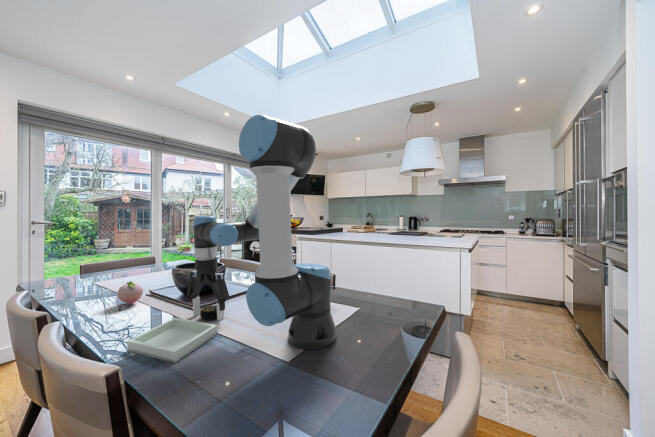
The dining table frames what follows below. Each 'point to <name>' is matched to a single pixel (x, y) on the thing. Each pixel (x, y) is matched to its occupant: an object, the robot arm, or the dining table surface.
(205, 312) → the tape measure
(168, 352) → the tray
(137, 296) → the decorative fruit
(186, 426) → the dining table surface
